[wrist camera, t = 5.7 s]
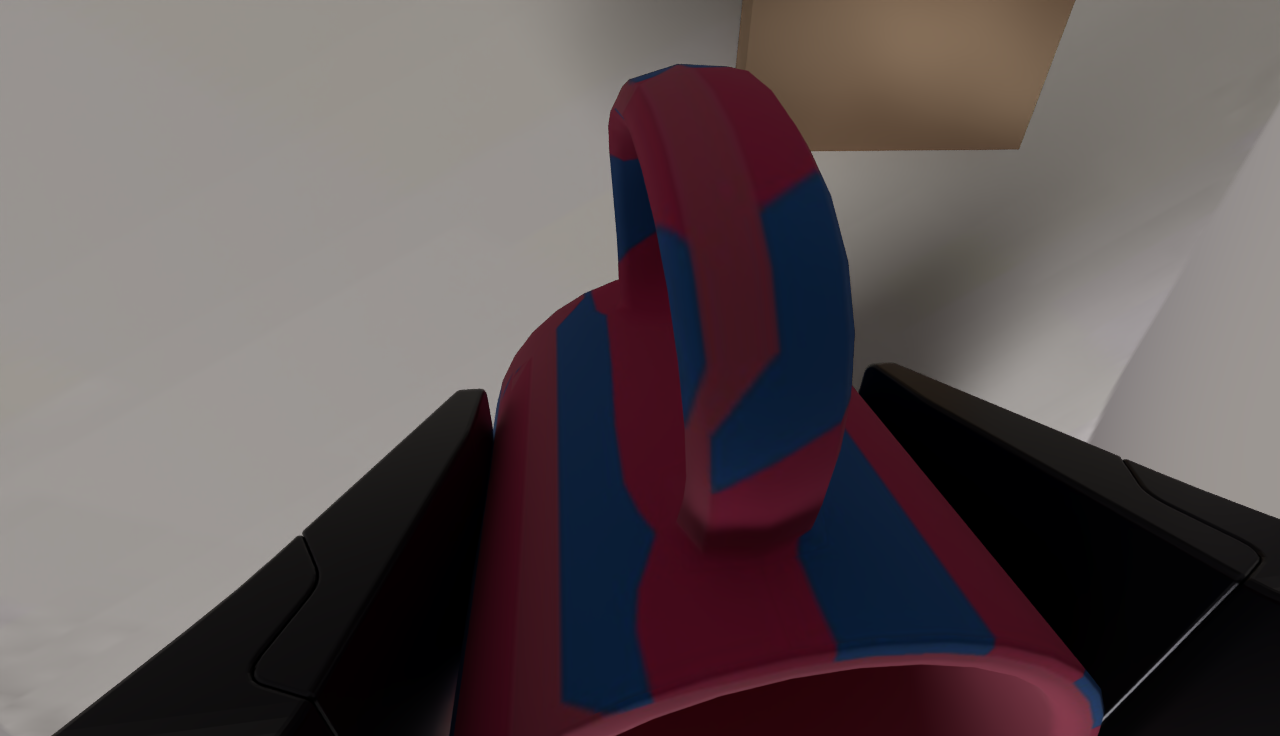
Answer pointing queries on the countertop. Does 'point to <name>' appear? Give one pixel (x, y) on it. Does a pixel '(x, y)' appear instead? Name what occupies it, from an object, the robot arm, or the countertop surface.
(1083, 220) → the countertop surface
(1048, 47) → the coaster board
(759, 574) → the mug
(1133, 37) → the countertop surface
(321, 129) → the countertop surface
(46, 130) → the countertop surface
